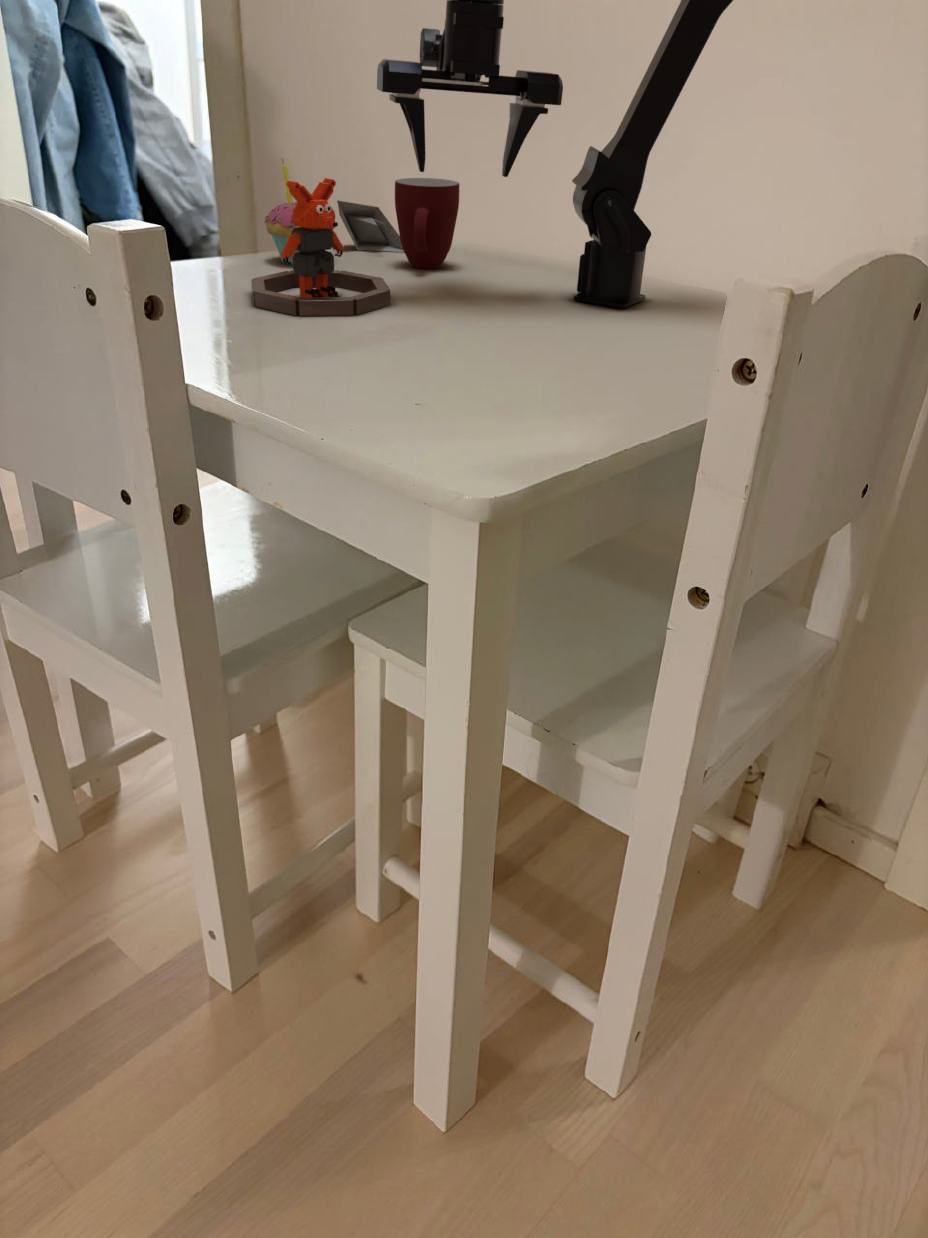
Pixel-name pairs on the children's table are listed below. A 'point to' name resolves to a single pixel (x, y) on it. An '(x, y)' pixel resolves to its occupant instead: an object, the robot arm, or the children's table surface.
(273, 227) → the cupcake
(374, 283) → the hoop
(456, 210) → the mug
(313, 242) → the toy animal
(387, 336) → the children's table surface
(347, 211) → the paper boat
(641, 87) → the robot arm
